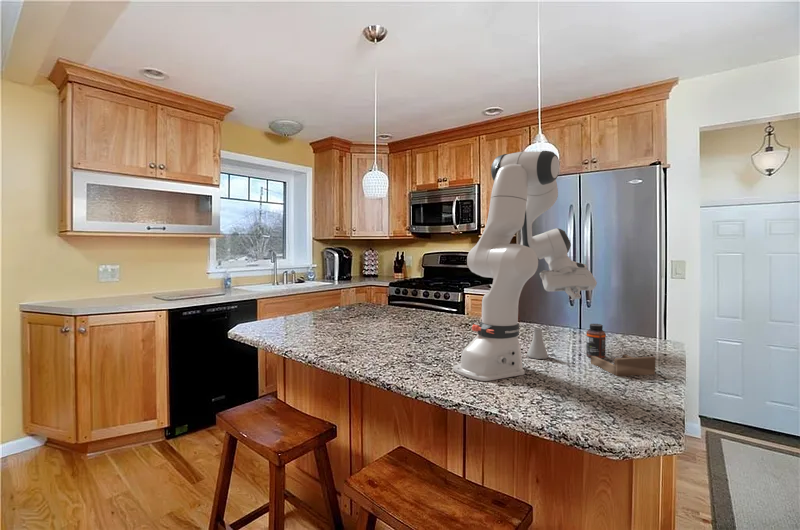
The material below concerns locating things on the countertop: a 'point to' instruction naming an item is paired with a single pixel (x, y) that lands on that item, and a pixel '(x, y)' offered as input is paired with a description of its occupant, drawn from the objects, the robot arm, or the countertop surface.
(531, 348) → the flask
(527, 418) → the countertop surface
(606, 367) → the walnut bay
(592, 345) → the supplement bottle
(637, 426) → the countertop surface
